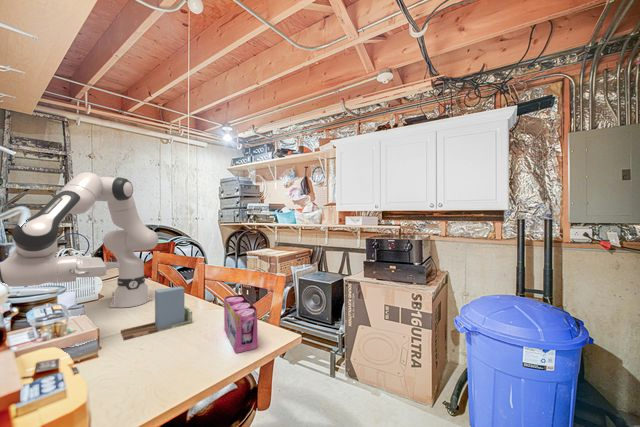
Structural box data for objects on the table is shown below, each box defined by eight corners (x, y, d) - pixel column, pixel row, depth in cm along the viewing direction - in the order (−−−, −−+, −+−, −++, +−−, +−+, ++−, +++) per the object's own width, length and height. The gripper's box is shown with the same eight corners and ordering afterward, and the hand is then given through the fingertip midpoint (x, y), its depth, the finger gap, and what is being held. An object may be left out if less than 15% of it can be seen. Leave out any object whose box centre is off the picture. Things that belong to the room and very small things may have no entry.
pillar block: (155, 326, 114) (155, 290, 114) (181, 320, 121) (181, 286, 121) (157, 330, 110) (157, 292, 110) (184, 323, 117) (184, 288, 117)
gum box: (259, 350, 95) (259, 311, 95) (236, 355, 91) (236, 315, 91) (243, 325, 116) (243, 293, 116) (223, 329, 112) (223, 296, 112)
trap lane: (120, 334, 108) (120, 320, 108) (185, 318, 124) (185, 306, 124) (123, 342, 101) (123, 326, 101) (192, 324, 117) (192, 311, 117)
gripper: (70, 264, 87) (123, 260, 96) (69, 255, 102) (115, 252, 111) (69, 284, 87) (122, 278, 96) (68, 272, 102) (115, 268, 111)
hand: (119, 264), depth 104 cm, fingers closed
